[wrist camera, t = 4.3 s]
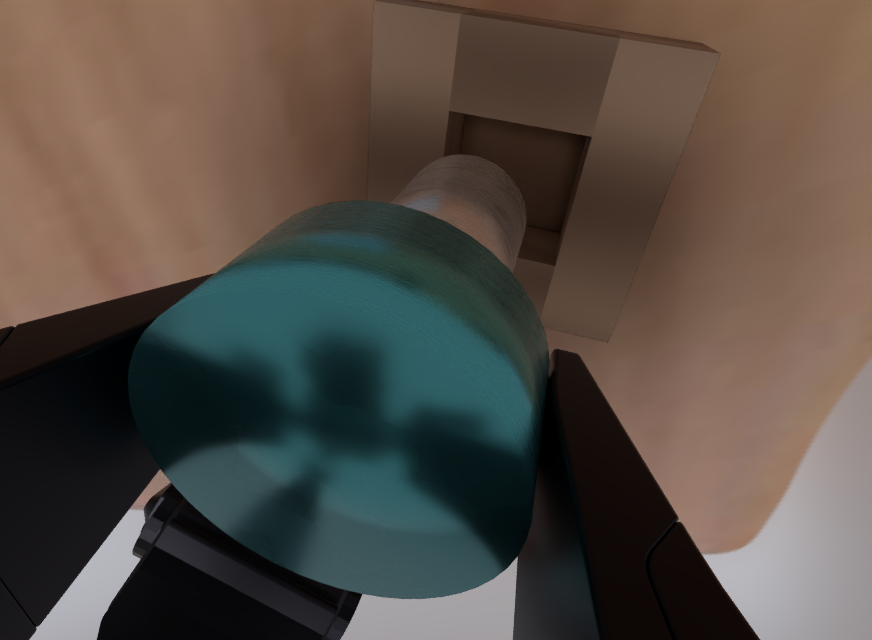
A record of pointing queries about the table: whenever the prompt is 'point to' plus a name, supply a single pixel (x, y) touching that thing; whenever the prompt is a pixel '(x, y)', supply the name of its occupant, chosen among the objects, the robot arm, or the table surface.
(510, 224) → the teal topped white bottle
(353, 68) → the table surface
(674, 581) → the robot arm
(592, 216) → the eye block
